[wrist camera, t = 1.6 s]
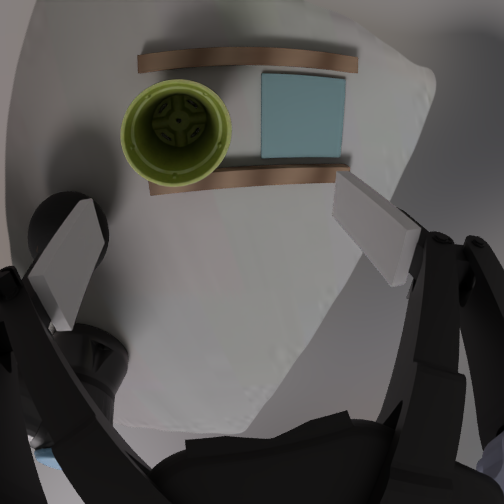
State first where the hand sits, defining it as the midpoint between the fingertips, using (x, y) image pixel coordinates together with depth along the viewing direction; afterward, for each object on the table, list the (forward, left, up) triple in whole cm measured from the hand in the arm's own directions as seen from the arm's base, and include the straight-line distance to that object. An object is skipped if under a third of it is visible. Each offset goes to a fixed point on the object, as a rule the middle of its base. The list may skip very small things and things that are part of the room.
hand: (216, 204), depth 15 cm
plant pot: (-3, +2, -20) cm, 20 cm away
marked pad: (+11, +2, -19) cm, 23 cm away
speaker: (-17, -8, -20) cm, 27 cm away
